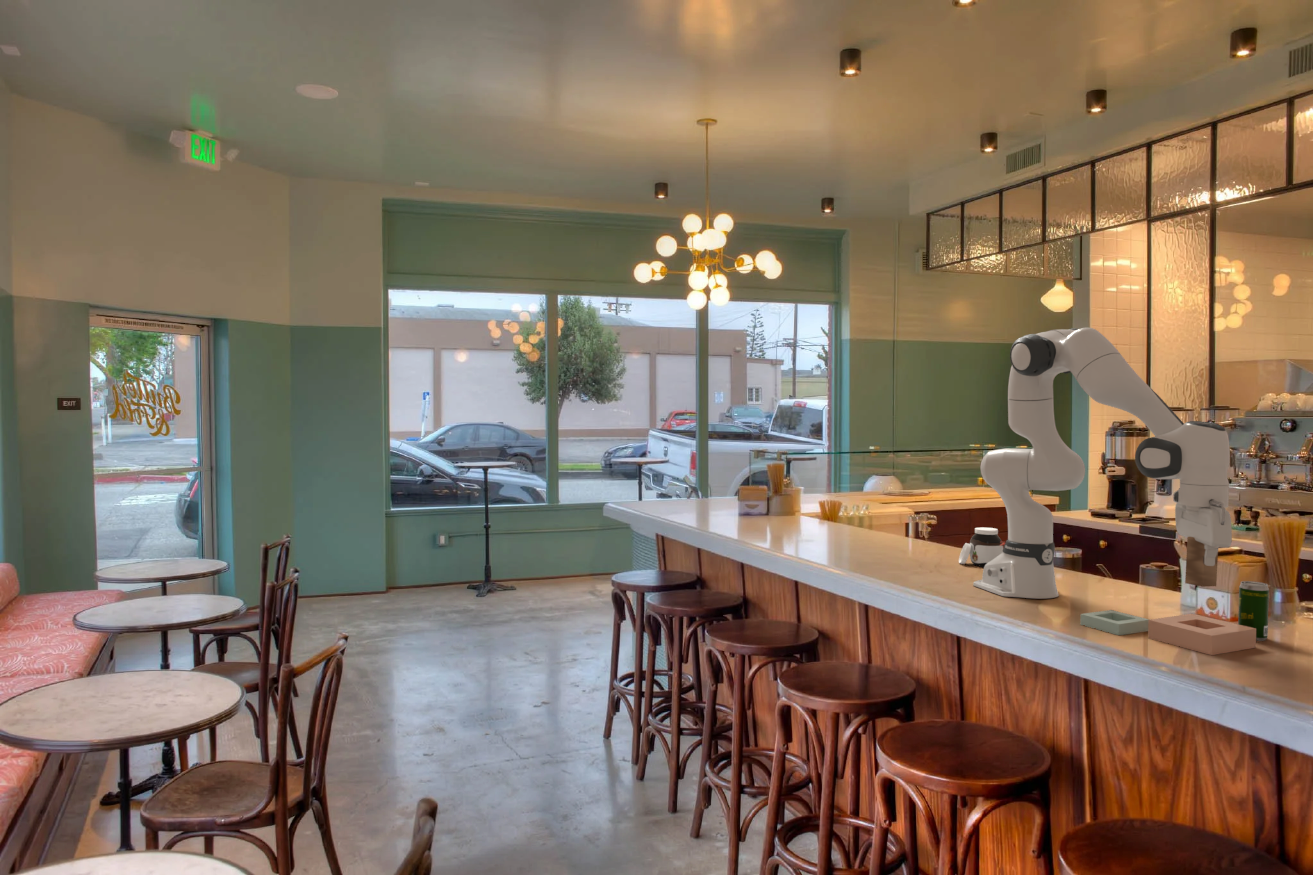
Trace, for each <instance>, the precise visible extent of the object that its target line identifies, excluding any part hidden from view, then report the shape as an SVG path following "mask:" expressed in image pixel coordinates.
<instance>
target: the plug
mask: <svg viewBox="0 0 1313 875" xmlns="http://www.w3.org/2000/svg"><path fill="white" fill-rule="evenodd" d="M1186 538H1187V539H1186V542H1187V543H1186V559H1185V560H1186V562H1185V581H1184V584H1188V585H1192V586H1197V587H1204V588H1205V587H1217V579H1218V578H1217V577H1218V560H1219V559H1218V558H1219V551H1218V552H1217V555H1216V557H1215V565H1214V566H1206V565H1204V564H1203V556H1204V555H1205V550H1206V549H1205V548H1204V546H1205V544H1203V543H1200V542H1198V541H1196V540H1195V538H1194V537H1186Z"/></svg>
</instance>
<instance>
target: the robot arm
mask: <svg viewBox="0 0 1313 875" xmlns="http://www.w3.org/2000/svg"><path fill="white" fill-rule="evenodd" d="M1009 359H1010V364H1011V367H1010V372H1009V377H1008V386H1007V412H1008V413H1007V417H1008V418H1007V419H1008V420H1007V422H1008V426H1009V428H1010V429H1011V430H1012V432H1014V433H1015V434H1017V435H1019V436H1021V437H1022V438H1025V439H1027V440H1028V442H1030V444H1031V446H1032V448H1015V447H1014V448H1012V447H1006V448H998V449H993V450H989V451H988V452H986V454H984V455H983V458H982V460H981V462H980V474H981V477H982V479H983V480H984V481H985V483H986V484H987V485H988V486H990V487H991V488H992V489H993V490H995V491H996V493H997V494H998V495H999V497H1000V498H1001V500H1002V502H1003V504H1004V506H1005V510H1006V514H1007V515H1006V517H1007V539H1006V540H1005V541H1002V540H1001V541H1002V542H1000V543H1002V544H1001V545H1000V546H1003V553H1001V554H1000V555H998V556H997V557H996V558H994V559H993V560H991V561H990V562H988V563H987V564H986V565H985V567H983V571H982V578H981V579H980V580H979V579H978V580H975V581H973V584H972V585H973V586H974V587H976V588H979V589H982V590H984V591H987V592H990V593H993V594H995V595H999V596H1001V597H1006V598H1008V597H1009V598H1023V599H1025V598H1026V599H1053V598H1057V597H1059V592H1058V587H1057V584H1056V575H1055V574H1056V573H1055V566H1054V558H1055V548H1056V547H1055V542H1054V535H1053V534H1054V516H1053V513H1052V512H1051V510H1050V509H1049V508H1048V507H1046V506H1045V505H1043V504H1042V503H1039V502H1038V501H1036V500H1034V499H1033V498H1032V496H1031V495H1030V491H1032V490H1033V491H1048V492H1049V491H1050V492H1051V491H1052V492H1060V491H1067V490H1068V491H1069V490H1074V489H1077V488H1078V487H1079V486H1080V485H1081V484H1082V483H1083V481H1084V478H1085V475H1086V466H1085V462H1084V460H1083V459H1082V457H1081V456H1080V455H1079V454H1078V453H1076V451H1074V450H1072V449H1071V448H1070V447H1069V446H1068V445H1067V444H1066V443H1065V442H1064V441H1063V439H1062V437H1061V436H1060V434H1059V431H1058V430H1057V426H1056V420H1055V409H1054V380H1055V377H1056V376H1057V375H1058V374H1060V373H1061V374H1062V373H1063V374H1070V373H1071V374H1072V375H1073V377H1074V379H1075V380H1076V382H1077V384H1078V385H1079V386H1080V387H1081V389H1082V390H1083V391H1084V393H1086V394H1087V395H1088V396H1089V398H1091V399H1092V400H1094V401H1095V402H1096V403H1098V404H1102V405H1105V406H1108V407H1112V408H1115V409H1119V410H1122V411H1124V412H1127V413H1129V414H1130V415H1133V416H1135V417H1136V418H1138V419H1139V420H1140V421H1141V422H1142V423H1143V424H1144V425H1145V426H1146V427H1147V429H1148V430H1149V431H1150V432H1151V433H1152V434H1153V435H1154V436H1151V437H1148V438H1145V439H1144V440H1142V441H1141V442H1139V444H1138V446H1137V447H1136V451H1135V454H1134V456H1135V457H1134V462H1135V465H1136V467H1137V469H1138V471H1139V472H1140V473H1141V474H1142V475H1143V476H1145V477H1147V478H1148V479H1149V478H1150V479H1154V480H1179V488H1178V490H1176V491H1174V492H1173V494H1172V500H1173V502H1174V503H1175V506H1174V508H1175V509H1174V511H1175V512H1174V513H1175V514H1174V515H1175V516H1174V517H1175V529H1176V532H1177V534H1178V535H1179V536H1182V537H1184V538H1187V537H1194V538H1195V540H1196V541H1198V542H1200V543H1203V544H1205V546H1204V548H1205V549H1206V550H1205V555H1204V556H1203V564H1204V565H1206V566H1214V565H1215V557H1216V555H1217V552H1218V553H1219V548H1223V549H1225V548H1226V549H1227V548H1230V547H1231V545H1232V540H1233V533H1232V531H1233V529H1232V518H1231V517H1232V516H1231V514H1230V512H1229V511H1228V510H1227V508H1229V500H1230V499H1229V498H1230V497H1229V496H1230V493H1229V492H1230V481H1229V479H1228V470H1229V468H1230V465H1231V464H1230V461H1231V460H1230V458H1231V457H1230V455H1231V453H1230V452H1231V451H1230V439H1229V433H1228V432H1227V429H1226V428H1225V427H1224V426H1222V425H1221V424H1218V423H1214V422H1209V421H1202V420H1201V421H1200V420H1190V421H1187V422H1185V423H1184V422H1183V421H1182V419H1180V417H1179V416H1178V415H1177V414H1176V413H1175V412H1174V411H1173V410H1172V409H1171V407H1170V406H1169V405H1168V404H1167V403H1166V402H1165V401H1164V400H1163V399H1162V398H1161V396H1159V395H1158V393H1157V392H1155V391H1154V389H1152V387H1151V386H1150V385H1148V384H1147V383H1146V382H1145V381H1144V380H1143V379H1142V378H1141V376H1140V375H1138V373H1137V372H1136V371H1135V370H1134V369H1133V368H1132V366H1131V365H1130V364H1129V362H1127V360H1126V359H1125V358H1124V357H1123V355H1122V353H1121V352H1119V350H1118V349H1117V348H1116V346H1115V345H1114V344H1113V343H1112V342H1111V341H1110V340H1109V339H1108V338H1107V337H1106V336H1105V335H1103V334H1102V333H1101V332H1099V330H1097V329H1096V328H1093V327H1082V328H1075V327H1073V328H1072V327H1071V328H1069V329H1064V328H1061V329H1058V328H1057V329H1050V330H1047V331H1042V332H1038V333H1030V334H1025V335H1023V336H1021V337H1019V338H1017V339H1016V340H1015V341H1014V342H1013V343H1012V345H1011V348H1010V352H1009Z"/></svg>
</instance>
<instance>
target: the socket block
mask: <svg viewBox="0 0 1313 875" xmlns="http://www.w3.org/2000/svg"><path fill="white" fill-rule="evenodd" d="M1147 638H1148V639H1150V640H1154V639H1155V640H1154V641H1158V642H1161V641H1162V642H1161V643H1164V644H1165V643H1166V644H1168V643H1169V644H1168V645H1172V646H1176V647H1179V646H1180V648H1184V649H1187V650H1191V651H1194V652H1199V653H1202V654H1206V655H1209V656H1214V655H1221V654H1226V653H1232V652H1238V651H1243V650H1248V649H1254V648H1257V646H1256V645H1257V641H1256V628H1251V627H1247V626H1243V625H1239V624H1238V623H1235V622H1234V623H1233V622H1230V621H1224V620H1221V619H1215V618H1212V617H1209V616H1208V617H1207V616H1204V615H1199V614H1195V613H1188V614H1187V613H1185V614H1179V615H1174V616H1173V615H1172V616H1165V617H1160V618H1159V617H1158V618H1152V619H1150V620H1148V631H1147Z"/></svg>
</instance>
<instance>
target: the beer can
mask: <svg viewBox="0 0 1313 875" xmlns="http://www.w3.org/2000/svg"><path fill="white" fill-rule="evenodd" d="M1269 601H1270V588H1269V584H1268V583H1264V582H1261V581H1253V580H1252V581H1251V580H1250V581H1249V580H1242V581H1240V584H1239V586H1238V621H1237V624H1239V625H1243V626H1247V627H1251V628H1256V642H1265V641H1267V639H1268V636H1269V603H1270V602H1269Z"/></svg>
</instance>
